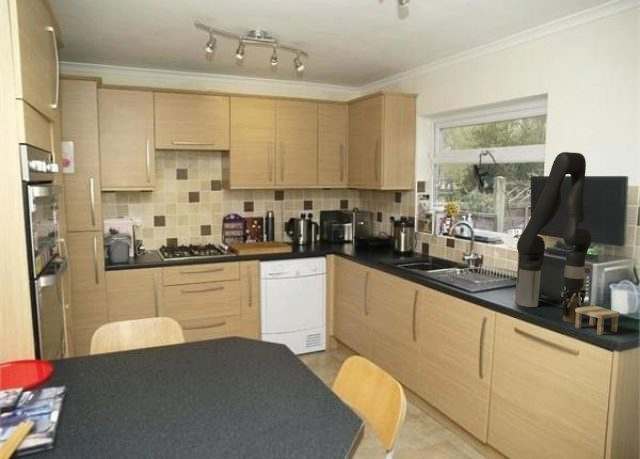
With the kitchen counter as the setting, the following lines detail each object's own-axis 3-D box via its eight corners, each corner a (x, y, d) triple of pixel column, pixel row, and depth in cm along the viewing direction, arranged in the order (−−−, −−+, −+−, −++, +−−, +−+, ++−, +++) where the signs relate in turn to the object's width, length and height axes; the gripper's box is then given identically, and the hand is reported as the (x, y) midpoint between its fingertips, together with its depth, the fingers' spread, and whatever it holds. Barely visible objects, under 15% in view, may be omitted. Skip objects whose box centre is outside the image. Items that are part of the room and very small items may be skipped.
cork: (574, 318, 201) (576, 293, 200) (581, 323, 195) (583, 297, 194) (560, 318, 201) (562, 293, 200) (566, 322, 195) (568, 296, 194)
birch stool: (574, 327, 189) (575, 308, 188) (591, 323, 194) (592, 305, 193) (600, 335, 179) (602, 315, 179) (617, 331, 184) (619, 312, 184)
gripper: (576, 273, 203) (573, 310, 204) (554, 275, 196) (551, 314, 198) (593, 276, 196) (590, 315, 198) (571, 279, 189) (567, 319, 191)
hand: (570, 314), depth 198 cm, fingers open, 6 cm apart
